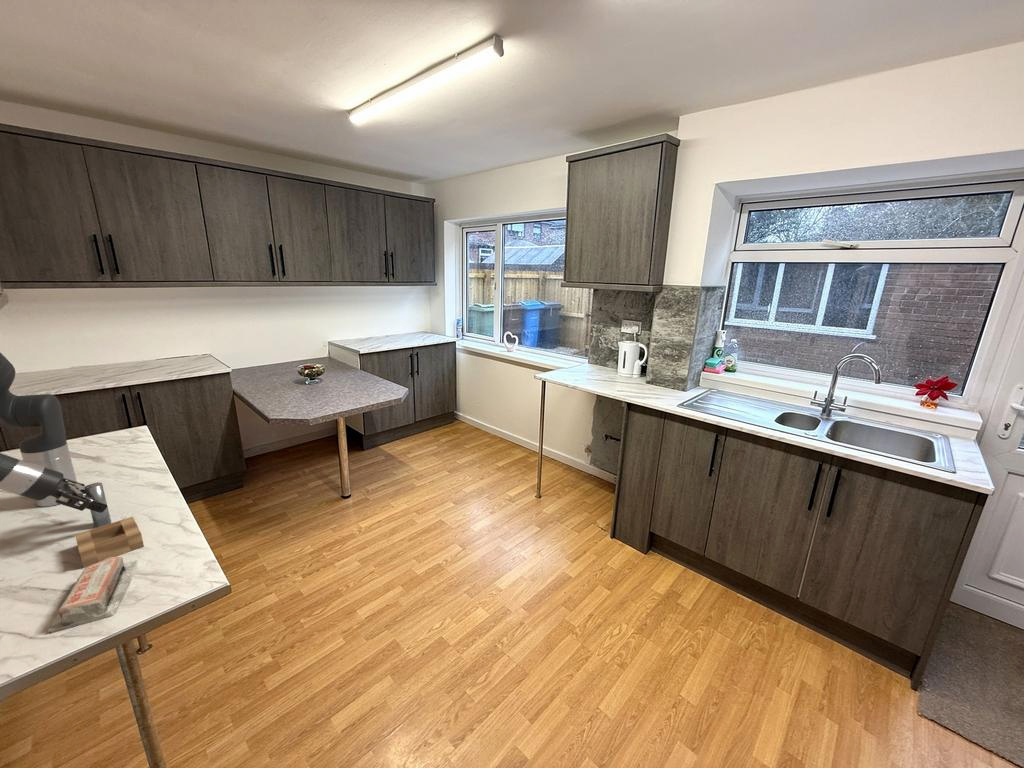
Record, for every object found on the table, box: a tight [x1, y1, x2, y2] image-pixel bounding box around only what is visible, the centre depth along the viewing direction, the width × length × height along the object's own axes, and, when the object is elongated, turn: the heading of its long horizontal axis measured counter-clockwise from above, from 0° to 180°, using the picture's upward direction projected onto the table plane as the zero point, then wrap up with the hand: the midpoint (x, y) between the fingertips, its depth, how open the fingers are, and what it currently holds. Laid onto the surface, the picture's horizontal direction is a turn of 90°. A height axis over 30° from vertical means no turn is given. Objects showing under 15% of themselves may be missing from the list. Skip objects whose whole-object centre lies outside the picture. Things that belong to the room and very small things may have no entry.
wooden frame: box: [74, 516, 145, 569], centre depth 105 cm, size 11×11×4 cm
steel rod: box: [85, 482, 112, 528], centre depth 113 cm, size 3×3×12 cm
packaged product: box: [47, 556, 138, 634], centre depth 89 cm, size 18×5×10 cm
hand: (102, 503), depth 113 cm, fingers open, 8 cm apart
